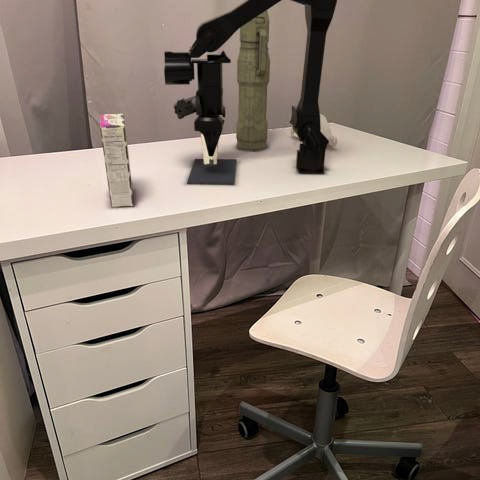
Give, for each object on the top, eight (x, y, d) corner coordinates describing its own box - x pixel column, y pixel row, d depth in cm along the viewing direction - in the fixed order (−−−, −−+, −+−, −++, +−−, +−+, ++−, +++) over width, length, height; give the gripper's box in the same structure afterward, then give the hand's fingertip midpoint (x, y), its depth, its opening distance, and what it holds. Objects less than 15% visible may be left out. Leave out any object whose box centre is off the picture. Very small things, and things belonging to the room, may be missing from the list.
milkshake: (226, 163, 129) (225, 121, 124) (210, 167, 125) (209, 124, 120) (213, 160, 132) (212, 118, 126) (197, 164, 128) (195, 121, 123)
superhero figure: (282, 141, 161) (320, 149, 145) (283, 109, 157) (322, 114, 141) (310, 138, 165) (350, 146, 149) (311, 107, 161) (352, 112, 145)
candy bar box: (109, 191, 116) (99, 113, 107) (132, 190, 117) (124, 113, 108) (109, 208, 107) (99, 125, 98) (134, 207, 108) (125, 124, 99)
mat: (236, 161, 138) (236, 159, 137) (234, 185, 121) (234, 182, 121) (195, 160, 138) (195, 158, 138) (187, 184, 121) (187, 181, 121)
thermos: (249, 154, 144) (252, 7, 125) (228, 144, 153) (228, 5, 134) (275, 150, 148) (282, 7, 129) (253, 141, 157) (257, 6, 138)
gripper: (179, 78, 127) (183, 144, 135) (169, 90, 111) (173, 164, 119) (225, 79, 127) (225, 144, 135) (221, 91, 111) (222, 164, 119)
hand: (211, 153), depth 127 cm, fingers closed on milkshake, 4 cm apart
